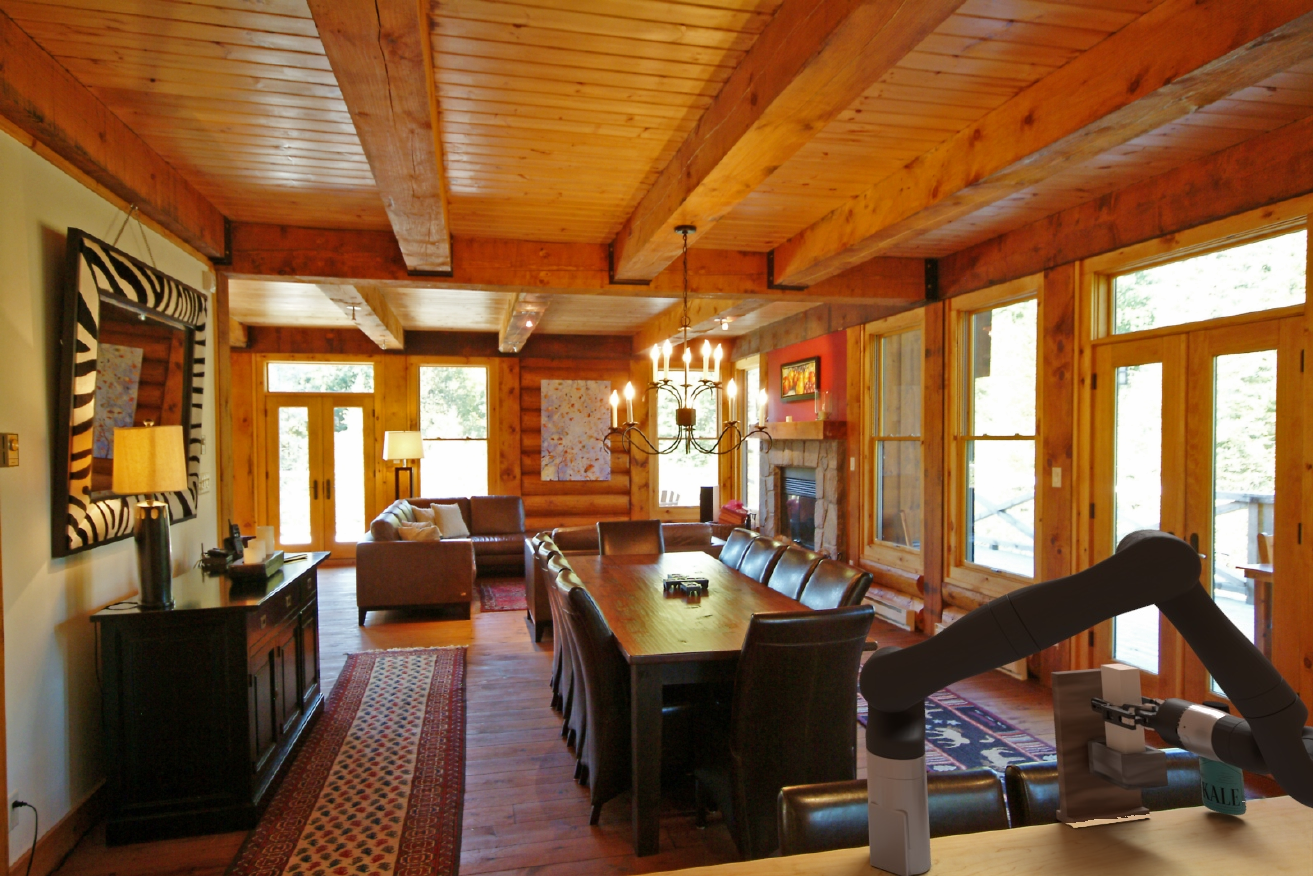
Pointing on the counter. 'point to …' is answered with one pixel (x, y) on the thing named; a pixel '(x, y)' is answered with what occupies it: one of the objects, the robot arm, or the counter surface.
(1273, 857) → the counter surface
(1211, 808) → the beverage bottle
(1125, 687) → the beige tall block
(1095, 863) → the counter surface
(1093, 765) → the cup bracket
